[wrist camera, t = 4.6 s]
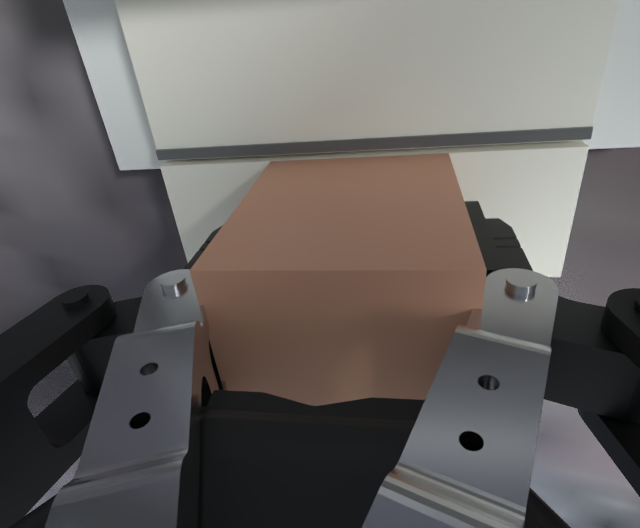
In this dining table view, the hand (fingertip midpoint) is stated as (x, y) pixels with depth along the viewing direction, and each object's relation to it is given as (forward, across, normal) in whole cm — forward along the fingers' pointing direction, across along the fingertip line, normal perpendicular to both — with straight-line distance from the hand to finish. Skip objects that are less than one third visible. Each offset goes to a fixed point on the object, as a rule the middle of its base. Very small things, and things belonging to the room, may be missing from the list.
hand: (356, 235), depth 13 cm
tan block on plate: (+2, 0, 0) cm, 2 cm away
